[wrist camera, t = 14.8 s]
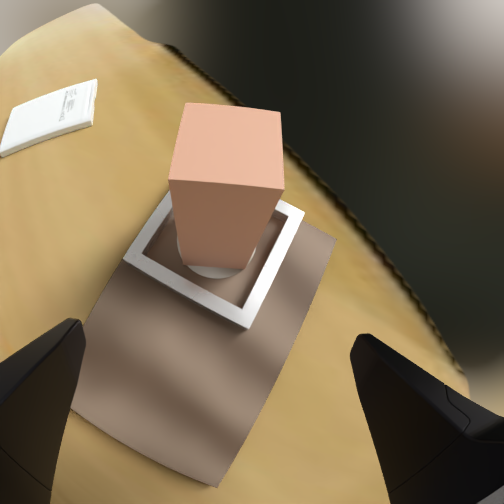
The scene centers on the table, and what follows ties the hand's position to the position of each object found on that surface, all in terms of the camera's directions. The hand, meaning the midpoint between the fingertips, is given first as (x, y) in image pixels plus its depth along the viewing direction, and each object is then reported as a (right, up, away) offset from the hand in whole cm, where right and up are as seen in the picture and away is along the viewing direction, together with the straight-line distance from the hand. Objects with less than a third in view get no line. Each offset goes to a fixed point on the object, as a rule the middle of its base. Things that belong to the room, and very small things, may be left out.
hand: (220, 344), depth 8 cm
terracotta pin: (-2, +4, +13) cm, 14 cm away
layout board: (-3, -2, +12) cm, 13 cm away
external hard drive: (-23, +18, +17) cm, 34 cm away
